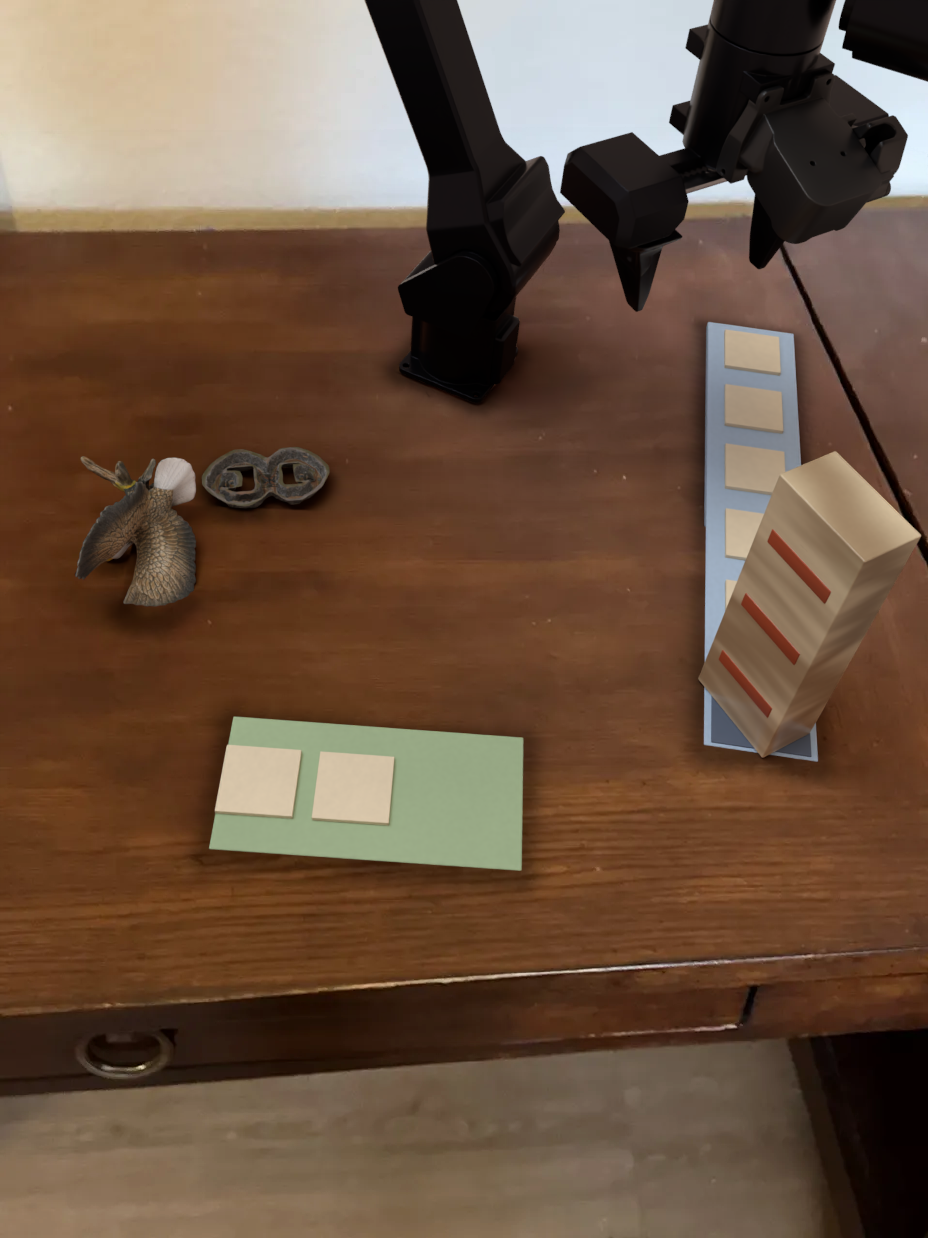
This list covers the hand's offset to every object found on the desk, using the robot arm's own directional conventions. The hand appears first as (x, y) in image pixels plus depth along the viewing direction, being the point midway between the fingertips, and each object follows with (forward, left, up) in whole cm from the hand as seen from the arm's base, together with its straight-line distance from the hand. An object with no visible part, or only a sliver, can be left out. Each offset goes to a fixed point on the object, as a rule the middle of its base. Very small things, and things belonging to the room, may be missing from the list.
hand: (696, 285), depth 72 cm
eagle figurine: (-23, -26, -13) cm, 37 cm away
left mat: (-3, -33, -13) cm, 36 cm away
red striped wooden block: (+13, -18, -12) cm, 25 cm away
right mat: (+8, -3, -13) cm, 16 cm away
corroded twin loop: (-20, -17, -13) cm, 29 cm away
